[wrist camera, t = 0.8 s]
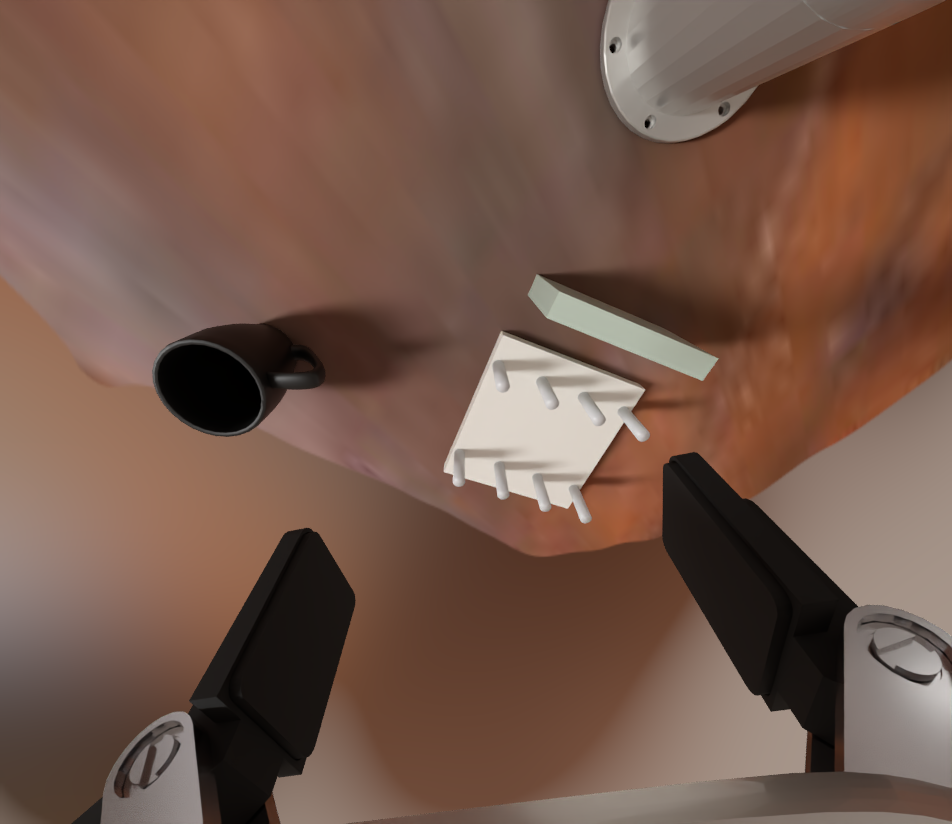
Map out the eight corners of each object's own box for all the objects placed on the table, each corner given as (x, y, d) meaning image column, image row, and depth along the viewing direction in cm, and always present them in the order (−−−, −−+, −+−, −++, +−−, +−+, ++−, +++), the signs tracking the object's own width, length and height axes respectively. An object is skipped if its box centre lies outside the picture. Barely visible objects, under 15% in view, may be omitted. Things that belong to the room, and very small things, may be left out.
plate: (527, 294, 35) (546, 317, 27) (537, 274, 34) (559, 291, 26) (652, 346, 38) (702, 380, 30) (663, 328, 37) (718, 358, 29)
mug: (355, 387, 39) (325, 434, 30) (239, 390, 39) (176, 439, 30) (340, 307, 35) (301, 336, 27) (211, 310, 35) (131, 340, 26)
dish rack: (501, 330, 36) (508, 351, 31) (639, 383, 40) (669, 412, 34) (444, 464, 44) (441, 501, 38) (564, 500, 47) (578, 540, 41)
